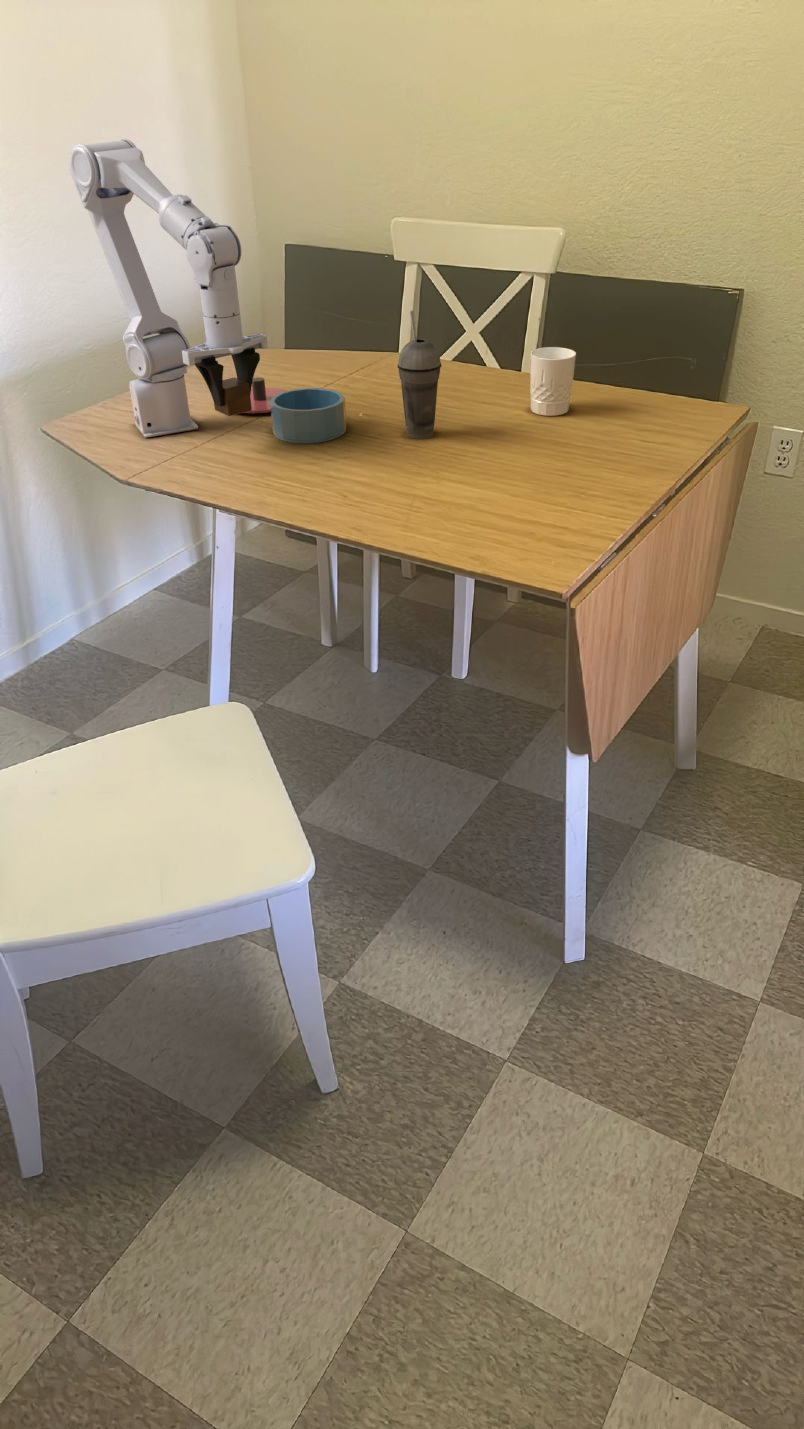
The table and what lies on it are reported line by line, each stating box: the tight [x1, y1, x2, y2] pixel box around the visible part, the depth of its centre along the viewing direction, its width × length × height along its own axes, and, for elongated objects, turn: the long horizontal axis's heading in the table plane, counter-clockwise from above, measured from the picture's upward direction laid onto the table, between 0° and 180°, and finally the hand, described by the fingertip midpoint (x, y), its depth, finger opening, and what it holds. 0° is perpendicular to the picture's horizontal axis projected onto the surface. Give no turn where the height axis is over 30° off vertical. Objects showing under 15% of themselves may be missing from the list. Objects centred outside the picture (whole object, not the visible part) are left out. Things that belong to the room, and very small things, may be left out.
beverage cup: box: [397, 310, 442, 440], centre depth 161 cm, size 7×7×20 cm
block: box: [213, 377, 252, 417], centre depth 158 cm, size 4×4×4 cm
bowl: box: [270, 387, 347, 444], centre depth 168 cm, size 13×13×6 cm
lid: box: [242, 376, 289, 414], centre depth 180 cm, size 14×14×5 cm
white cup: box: [529, 346, 577, 417], centre depth 172 cm, size 8×8×10 cm
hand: (232, 401), depth 159 cm, fingers closed on block, 4 cm apart
